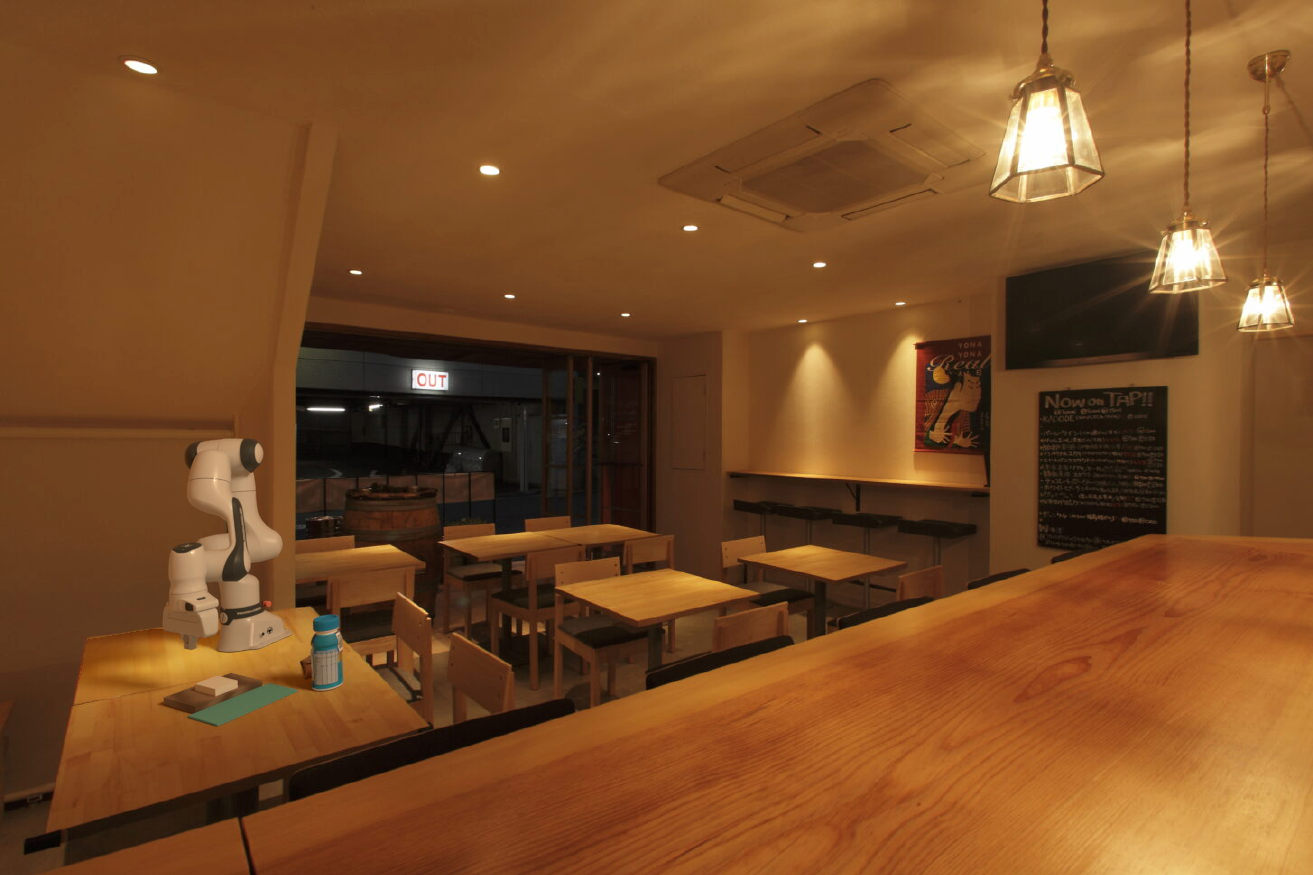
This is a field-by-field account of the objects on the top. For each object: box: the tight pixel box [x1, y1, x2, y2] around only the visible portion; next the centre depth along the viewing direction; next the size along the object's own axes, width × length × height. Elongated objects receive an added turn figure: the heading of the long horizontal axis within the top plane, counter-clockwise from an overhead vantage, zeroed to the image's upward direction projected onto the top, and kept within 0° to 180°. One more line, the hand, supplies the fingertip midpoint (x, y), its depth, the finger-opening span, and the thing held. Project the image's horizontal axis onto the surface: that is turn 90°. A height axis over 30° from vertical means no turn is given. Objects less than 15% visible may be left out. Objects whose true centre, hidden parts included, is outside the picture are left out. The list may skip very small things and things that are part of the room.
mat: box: [187, 682, 298, 727], centre depth 172 cm, size 22×12×1 cm, turn 156°
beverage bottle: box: [309, 614, 344, 692], centre depth 182 cm, size 8×8×20 cm
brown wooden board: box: [163, 672, 263, 714], centre depth 177 cm, size 18×14×2 cm
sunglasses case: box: [299, 655, 312, 680], centre depth 197 cm, size 18×7×7 cm, turn 35°
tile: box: [194, 675, 238, 696], centre depth 176 cm, size 6×9×2 cm, turn 66°
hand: (190, 648), depth 180 cm, fingers closed
